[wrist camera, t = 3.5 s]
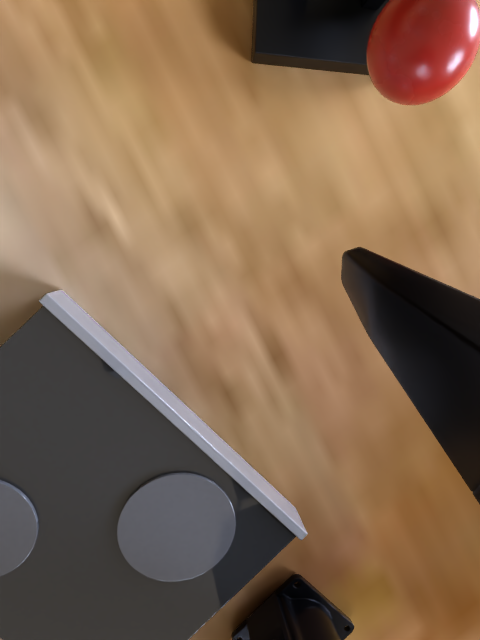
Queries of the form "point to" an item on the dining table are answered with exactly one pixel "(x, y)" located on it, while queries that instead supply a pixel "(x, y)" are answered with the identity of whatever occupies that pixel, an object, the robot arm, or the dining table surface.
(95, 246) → the dining table surface
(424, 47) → the lever
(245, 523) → the hob
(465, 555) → the dining table surface
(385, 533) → the dining table surface
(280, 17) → the black square stand
